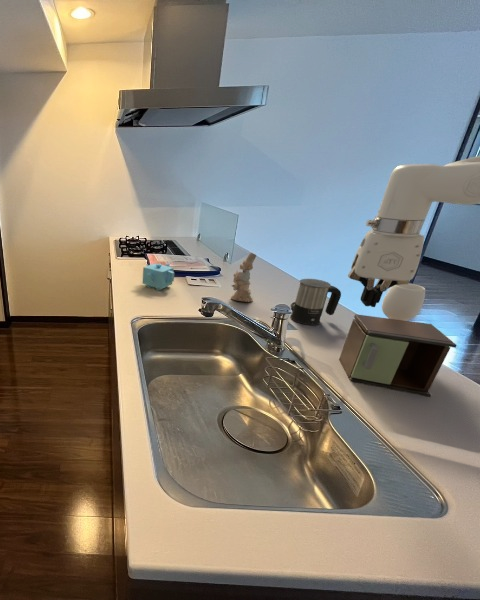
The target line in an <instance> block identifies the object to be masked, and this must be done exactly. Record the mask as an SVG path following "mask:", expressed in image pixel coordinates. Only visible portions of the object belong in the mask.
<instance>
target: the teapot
mask: <svg viewBox="0 0 480 600" xmlns="http://www.w3.org/2000/svg"><path fill="white" fill-rule="evenodd" d="M170 264H171V262H167V263H166V264H165V265H164V264H162V263H152V264H148V265H145V266H143V268H142V281H141V282H142V284H143V285H146V288H155V290H156V291H162V290H163V289H164V288H168V287H169V286H172V285H173V282H174V280H175V274H176V273H175V272H174V269H175V268H174V267H171V266H170Z"/></svg>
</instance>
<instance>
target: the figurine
mask: <svg viewBox="0 0 480 600" xmlns="http://www.w3.org/2000/svg"><path fill="white" fill-rule="evenodd" d="M256 257H257V254H255V253H253V252H249V254H248V255H247V257H246V258H245V259H244V260H243V261H242V263H240V264H239V269H240V270H242V271H239V270H237V271H236V272H235V273H234V274H233V280H232V282H233V284H232V285H231V287H232V289H233V291H234V293H233V294H232V295H231V296H230V299H231V300H233V301H235V302H236V301H237V302H245V303H251V302H254V299H253V297H252V296H251V289H250V285H251V284H252V283H251V282H250V280H251V272H250V271H252V270H253V269H254V265H253V263H254V262H255V259H256Z"/></svg>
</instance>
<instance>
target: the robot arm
mask: <svg viewBox="0 0 480 600" xmlns="http://www.w3.org/2000/svg"><path fill="white" fill-rule="evenodd" d="M388 179H389V180H388V182H387V186H386V188H385V191H384V194H383V197H382V200H381V203H380V205H379V209H378V212H377V215H376V216H375V217H374V219H367V220H366V223H365V226H366V227H370V228H371V229H372V230H371V229H369V230H368V231H367V232H366V234H365V235H364V236H363V239H362V240H361V242H360V244H359V245H358V249H357V250H356V253H355V254H354V258H353V260H352V263H351V268H350V269H351V270H350V271H349V273H348V274H347V277H348V278H349V279H351V280H353V281H356V282H359V283H360V284H361V285H362V286H363V289H362V293H361V295H360V301H361V303H362V304H363V305H364V306H365V307H370V308H376V305H377V304H379V303H380V301H381V298H382V296H383V293H384V292H387V291H388V290H389V289H390V288H391V287H392V286H394V285H402V284H408V283H410V281H411V280H413V279H414V278H415V276H416V273H417V270H418V268H419V264H420V261H421V258H422V257H421V256H422V253H423V250H424V249H423V248H424V243H425V235H424V234H421V231H422V229H423V226H424V224H425V222H426V219H427V217H428V213H429V211H430V209H431V206H432V203H434V202H437V203H446V204H453V205H459V206H470V205H479V204H480V155H477V156H473V157H469V158H465V159H461V160H457V161H453V162H450V163H446V164H445V165H440V164H435V163H408V164H401V165H398V166H396V167H395V168H394V169H393V170H392V171H391V174H390V176H389V178H388ZM376 280H377V282H376ZM375 282H376V284H375Z"/></svg>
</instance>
